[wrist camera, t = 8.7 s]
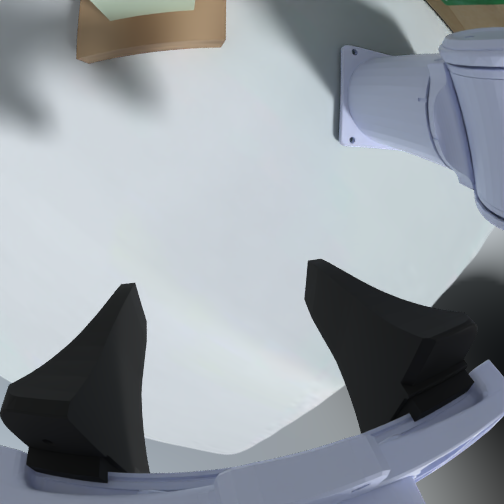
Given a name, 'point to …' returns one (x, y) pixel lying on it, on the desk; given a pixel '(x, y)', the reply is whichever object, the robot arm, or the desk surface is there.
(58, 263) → the desk surface
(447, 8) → the paper package
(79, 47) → the walnut block
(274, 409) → the desk surface
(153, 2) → the sage cube
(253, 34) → the desk surface
